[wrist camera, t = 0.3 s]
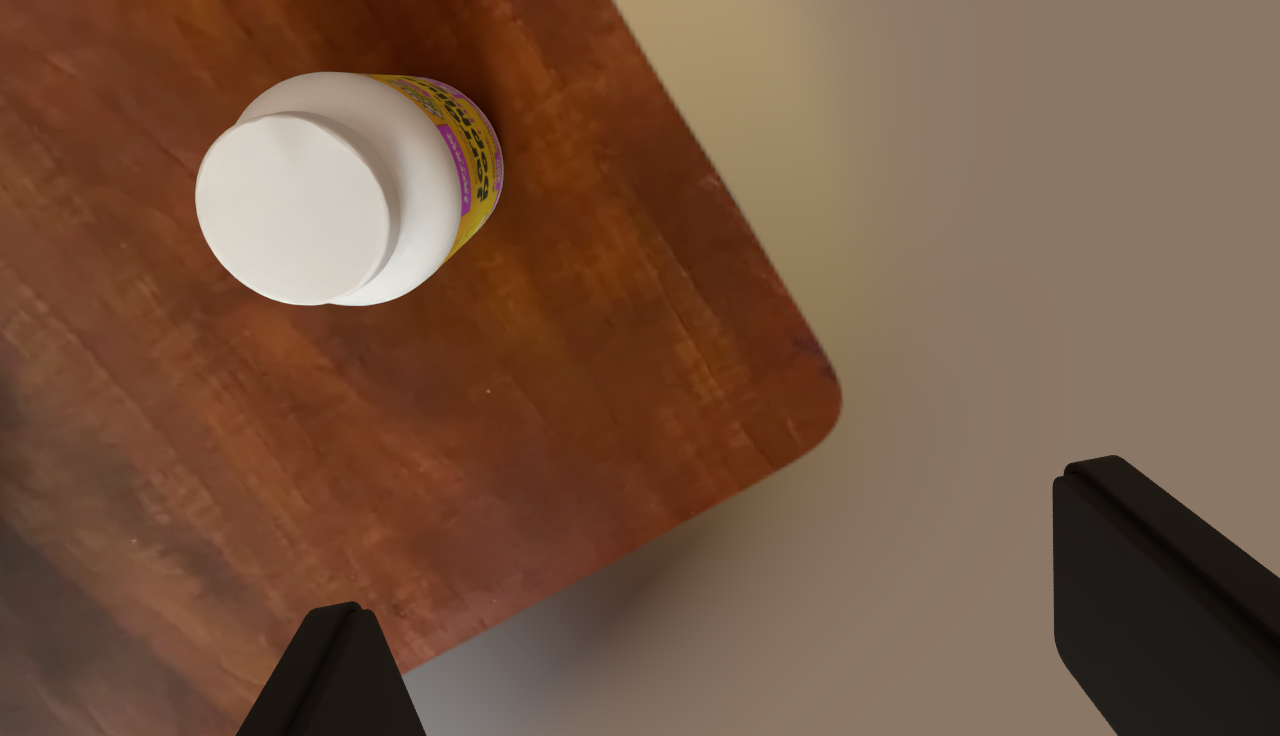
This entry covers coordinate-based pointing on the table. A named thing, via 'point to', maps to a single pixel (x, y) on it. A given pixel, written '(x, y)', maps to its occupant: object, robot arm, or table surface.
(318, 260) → the supplement bottle
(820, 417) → the table surface
